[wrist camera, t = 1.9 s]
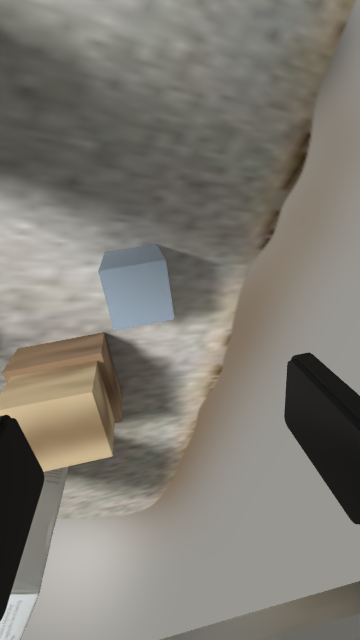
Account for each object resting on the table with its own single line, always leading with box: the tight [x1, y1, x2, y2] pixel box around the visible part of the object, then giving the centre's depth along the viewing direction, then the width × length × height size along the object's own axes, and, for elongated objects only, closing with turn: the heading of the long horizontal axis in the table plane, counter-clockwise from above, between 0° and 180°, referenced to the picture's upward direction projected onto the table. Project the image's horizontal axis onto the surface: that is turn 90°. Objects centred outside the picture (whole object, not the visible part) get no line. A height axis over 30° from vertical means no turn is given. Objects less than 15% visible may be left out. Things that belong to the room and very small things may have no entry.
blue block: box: [99, 244, 174, 331], centre depth 22 cm, size 4×4×6 cm
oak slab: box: [0, 361, 115, 472], centre depth 23 cm, size 7×7×4 cm
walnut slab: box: [2, 332, 122, 423], centre depth 26 cm, size 8×8×4 cm
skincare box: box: [0, 466, 69, 640], centre depth 24 cm, size 8×6×15 cm
